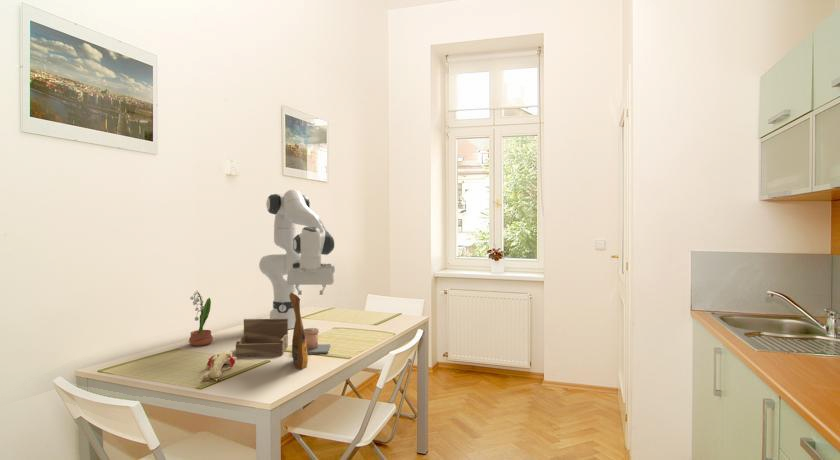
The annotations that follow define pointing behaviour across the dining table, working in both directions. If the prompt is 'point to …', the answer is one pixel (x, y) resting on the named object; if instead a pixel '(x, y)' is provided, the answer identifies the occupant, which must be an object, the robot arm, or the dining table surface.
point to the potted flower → (201, 324)
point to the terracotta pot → (311, 338)
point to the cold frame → (263, 338)
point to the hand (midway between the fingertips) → (310, 294)
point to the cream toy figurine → (219, 364)
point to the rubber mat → (320, 349)
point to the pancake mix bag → (298, 336)
